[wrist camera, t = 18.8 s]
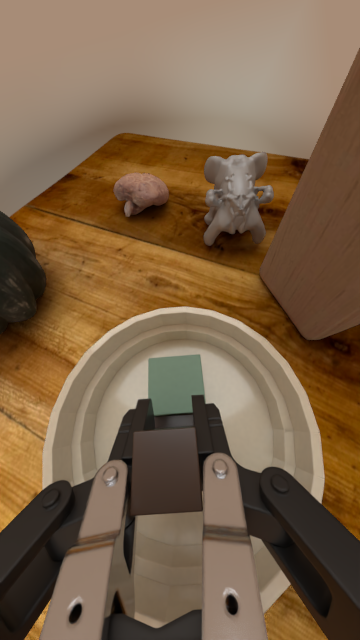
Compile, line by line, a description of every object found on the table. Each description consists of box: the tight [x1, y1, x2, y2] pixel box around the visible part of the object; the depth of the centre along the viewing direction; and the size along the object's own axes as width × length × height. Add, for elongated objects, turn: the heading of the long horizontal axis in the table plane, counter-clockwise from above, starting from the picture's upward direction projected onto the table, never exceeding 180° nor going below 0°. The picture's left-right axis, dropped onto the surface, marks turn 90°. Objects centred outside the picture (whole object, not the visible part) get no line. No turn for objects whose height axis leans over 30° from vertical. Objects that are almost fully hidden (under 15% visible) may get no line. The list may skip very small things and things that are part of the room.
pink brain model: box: [114, 173, 169, 217], centre depth 29 cm, size 8×6×8 cm
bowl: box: [43, 307, 325, 628], centre depth 15 cm, size 17×17×5 cm
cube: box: [148, 354, 206, 416], centre depth 16 cm, size 4×4×4 cm
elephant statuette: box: [204, 152, 274, 246], centre depth 25 cm, size 9×12×8 cm
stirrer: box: [130, 413, 203, 516], centre depth 11 cm, size 4×4×9 cm
